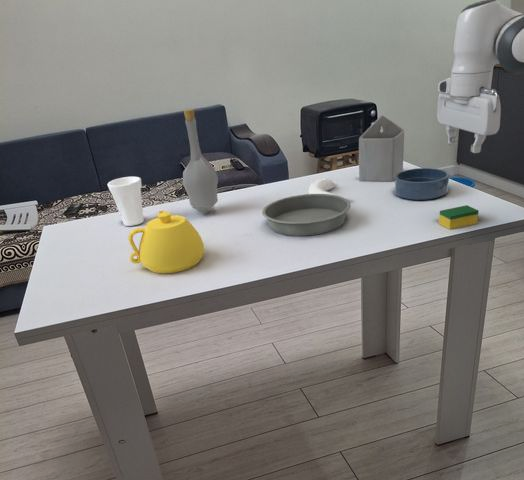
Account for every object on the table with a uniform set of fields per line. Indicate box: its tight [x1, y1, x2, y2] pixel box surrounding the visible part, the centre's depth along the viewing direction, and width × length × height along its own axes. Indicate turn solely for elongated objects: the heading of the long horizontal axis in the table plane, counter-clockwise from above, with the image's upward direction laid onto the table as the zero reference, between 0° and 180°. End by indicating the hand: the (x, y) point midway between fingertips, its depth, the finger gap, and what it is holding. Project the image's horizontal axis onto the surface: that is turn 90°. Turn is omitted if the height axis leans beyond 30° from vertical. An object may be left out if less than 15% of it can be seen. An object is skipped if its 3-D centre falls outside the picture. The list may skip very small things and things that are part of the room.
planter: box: [358, 115, 405, 183], centre depth 174 cm, size 16×8×19 cm, turn 108°
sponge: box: [438, 204, 479, 230], centre depth 138 cm, size 8×5×4 cm, turn 106°
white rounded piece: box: [307, 178, 347, 199], centre depth 168 cm, size 5×19×15 cm
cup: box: [107, 176, 145, 227], centre depth 163 cm, size 10×10×13 cm
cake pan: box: [261, 193, 351, 237], centre depth 151 cm, size 25×25×4 cm
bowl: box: [394, 167, 450, 201], centre depth 161 cm, size 15×15×6 cm
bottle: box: [182, 108, 219, 214], centre depth 160 cm, size 11×11×30 cm
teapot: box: [127, 210, 206, 274], centre depth 135 cm, size 20×19×13 cm
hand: (463, 148), depth 129 cm, fingers open, 8 cm apart
